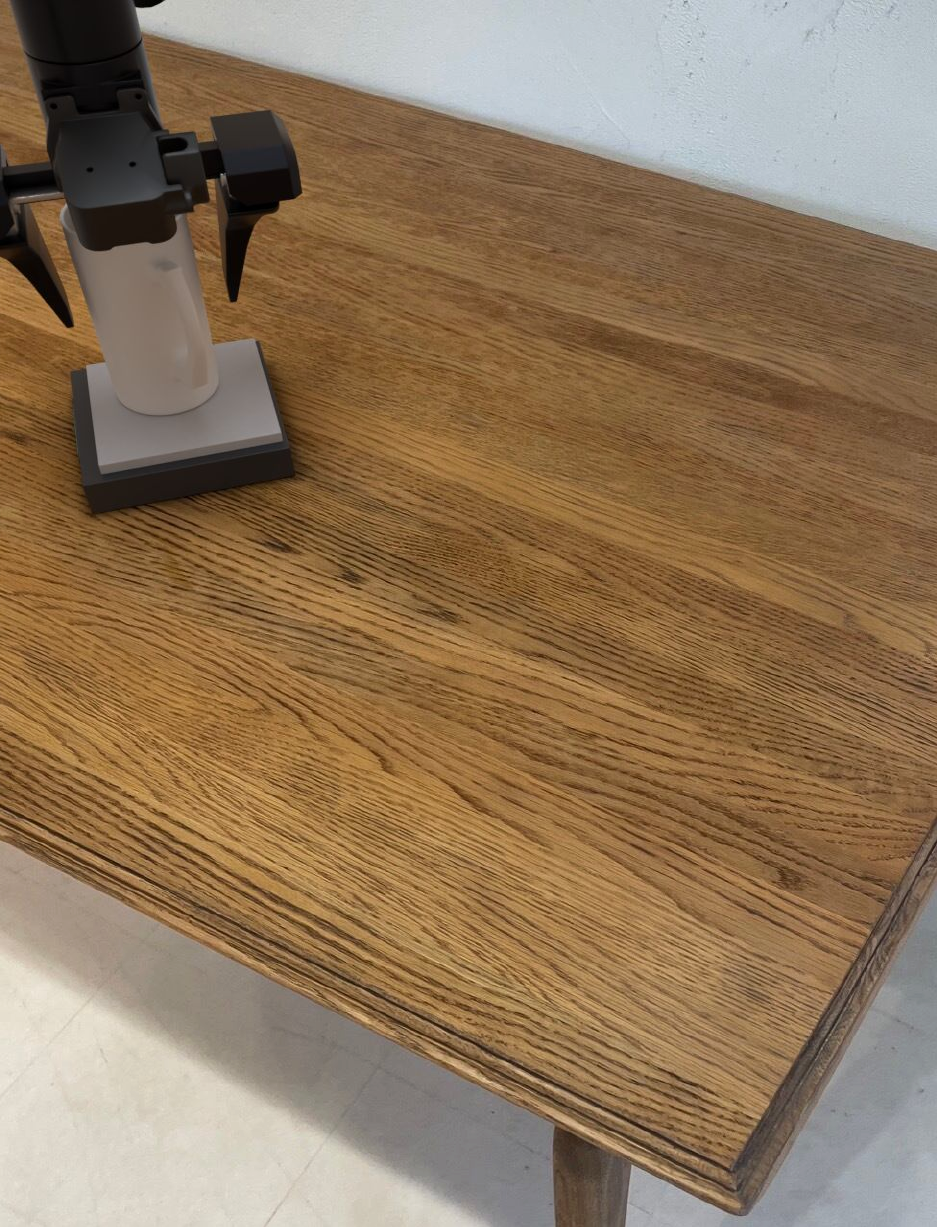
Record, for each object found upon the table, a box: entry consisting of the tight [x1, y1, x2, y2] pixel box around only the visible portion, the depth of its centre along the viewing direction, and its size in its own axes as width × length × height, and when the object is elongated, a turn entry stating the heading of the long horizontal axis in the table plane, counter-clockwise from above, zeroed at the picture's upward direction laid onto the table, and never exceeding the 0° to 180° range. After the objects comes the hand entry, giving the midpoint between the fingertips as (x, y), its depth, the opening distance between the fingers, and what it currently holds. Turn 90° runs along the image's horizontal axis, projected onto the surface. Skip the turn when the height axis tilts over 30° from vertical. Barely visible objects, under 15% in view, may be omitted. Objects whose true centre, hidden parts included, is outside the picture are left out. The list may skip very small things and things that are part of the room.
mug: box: [59, 202, 219, 415], centre depth 76 cm, size 10×7×12 cm, turn 41°
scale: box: [69, 337, 296, 515], centre depth 81 cm, size 12×12×3 cm
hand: (152, 311), depth 76 cm, fingers open, 9 cm apart
